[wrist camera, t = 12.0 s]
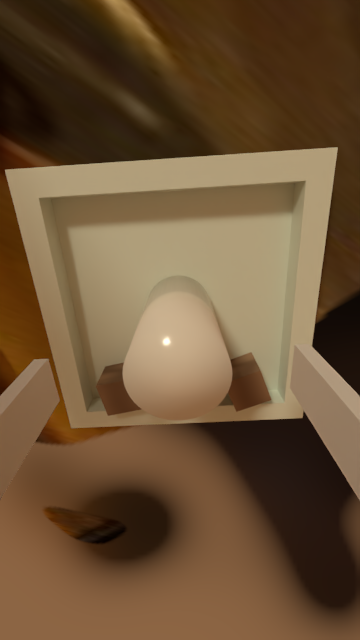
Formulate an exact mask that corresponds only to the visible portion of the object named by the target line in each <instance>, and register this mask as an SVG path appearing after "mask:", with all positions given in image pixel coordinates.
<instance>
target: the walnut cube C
mask: <svg viewBox="0 0 360 640" xmlns="http://www.w3.org/2000/svg"><path fill="white" fill-rule="evenodd" d="M230 361H231V365H232V382H231V386H230V389H229V391H228V394H229V396H230V399H231V401H232V403H233V405H234V408H235V410H236V412H238V411H241V410H244V409H247V408H250V407H253V406H256V405H259V404H261V403H264V402H267V401H270V400H272V399H271V397H270V394H269V392H268V389H267V386H266V384H265V381H264V378H263V376H262V373H261V370H260V368H259V366H258V364H257V362H256V360H255V358H254V356H253V354H252V352H250V353H247V354H245V355H242V356H239V357H236V358H234V359H231V360H230Z"/></svg>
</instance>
